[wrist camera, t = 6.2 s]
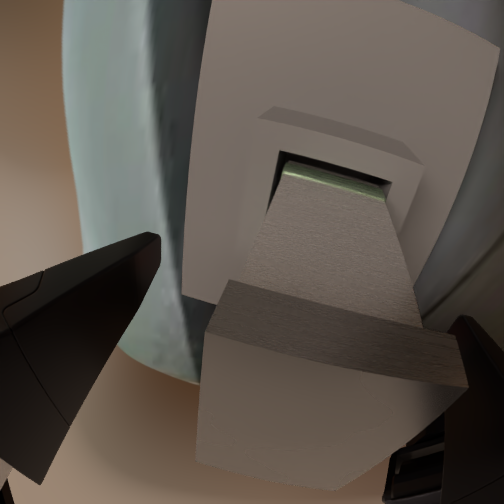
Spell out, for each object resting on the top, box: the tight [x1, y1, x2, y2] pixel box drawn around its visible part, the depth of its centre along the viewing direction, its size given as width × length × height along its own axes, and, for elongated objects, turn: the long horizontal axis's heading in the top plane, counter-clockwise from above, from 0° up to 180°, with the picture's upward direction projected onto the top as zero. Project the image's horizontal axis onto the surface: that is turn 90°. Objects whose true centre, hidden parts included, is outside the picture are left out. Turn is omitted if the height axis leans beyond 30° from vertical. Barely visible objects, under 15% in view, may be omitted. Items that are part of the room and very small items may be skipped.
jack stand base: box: [182, 0, 500, 305], centre depth 14 cm, size 14×20×6 cm
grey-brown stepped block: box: [196, 160, 469, 491], centre depth 9 cm, size 4×5×9 cm
